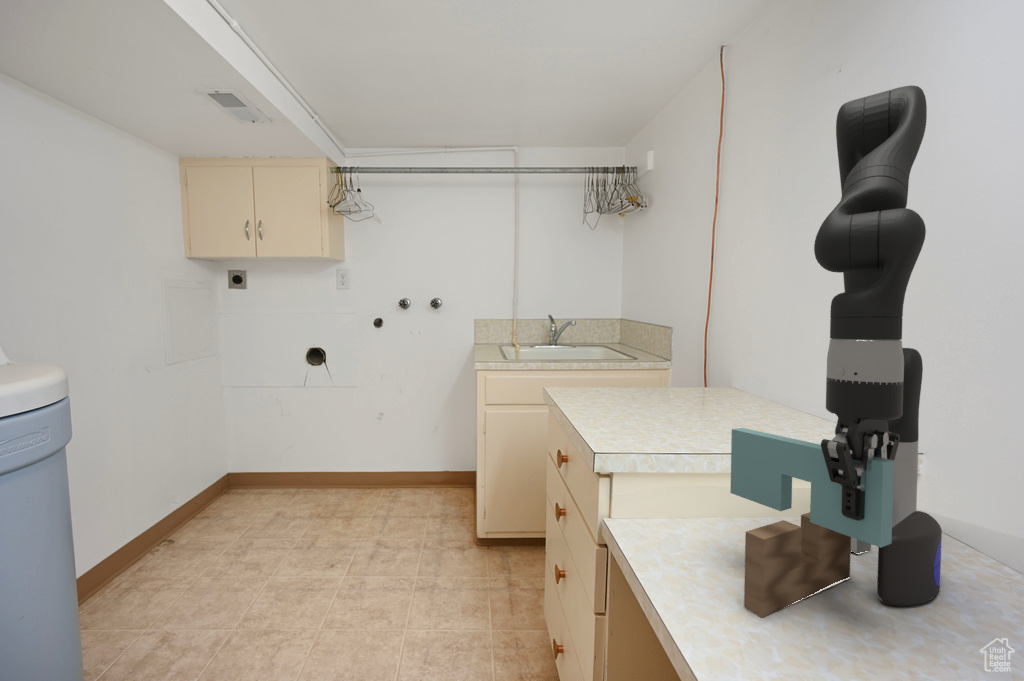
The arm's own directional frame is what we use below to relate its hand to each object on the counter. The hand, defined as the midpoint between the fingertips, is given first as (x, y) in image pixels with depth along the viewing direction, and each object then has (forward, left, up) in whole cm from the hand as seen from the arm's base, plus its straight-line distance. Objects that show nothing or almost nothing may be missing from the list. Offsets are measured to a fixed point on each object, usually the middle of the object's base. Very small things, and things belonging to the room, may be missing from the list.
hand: (859, 515), depth 57 cm
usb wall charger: (-21, -13, -14) cm, 28 cm away
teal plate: (0, -7, -3) cm, 8 cm away
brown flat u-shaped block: (0, -7, -13) cm, 15 cm away
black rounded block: (-15, -1, -14) cm, 20 cm away
